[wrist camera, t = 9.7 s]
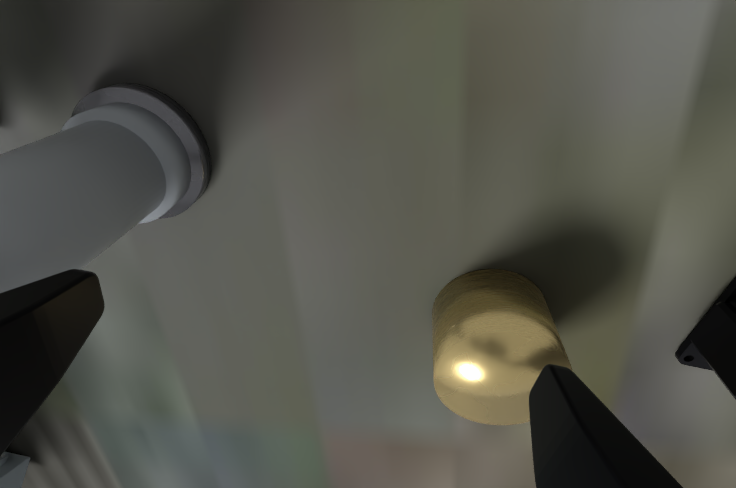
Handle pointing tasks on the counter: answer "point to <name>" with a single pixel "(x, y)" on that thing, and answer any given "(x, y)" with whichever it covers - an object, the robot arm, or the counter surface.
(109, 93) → the dark grey metal disc
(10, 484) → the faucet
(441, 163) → the counter surface
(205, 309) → the counter surface
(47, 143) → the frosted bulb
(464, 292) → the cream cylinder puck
